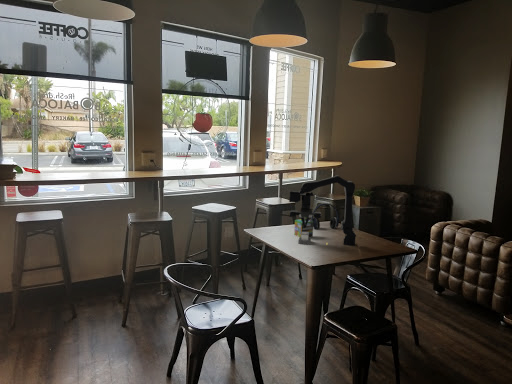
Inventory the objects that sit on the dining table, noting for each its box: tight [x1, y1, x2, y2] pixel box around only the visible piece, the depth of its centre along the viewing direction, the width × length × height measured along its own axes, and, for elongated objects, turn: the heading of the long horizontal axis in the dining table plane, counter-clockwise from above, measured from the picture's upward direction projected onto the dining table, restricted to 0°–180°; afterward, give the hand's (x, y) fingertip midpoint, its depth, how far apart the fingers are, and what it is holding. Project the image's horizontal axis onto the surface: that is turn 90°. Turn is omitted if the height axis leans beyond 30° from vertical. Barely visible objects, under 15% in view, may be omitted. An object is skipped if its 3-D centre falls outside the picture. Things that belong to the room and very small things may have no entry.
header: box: [297, 237, 312, 246], centre depth 240 cm, size 7×9×2 cm
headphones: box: [310, 203, 340, 230], centre depth 282 cm, size 20×7×18 cm, turn 101°
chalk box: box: [294, 217, 314, 238], centre depth 256 cm, size 9×9×15 cm
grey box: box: [301, 232, 309, 240], centre depth 240 cm, size 4×5×6 cm
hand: (304, 228), depth 239 cm, fingers closed
